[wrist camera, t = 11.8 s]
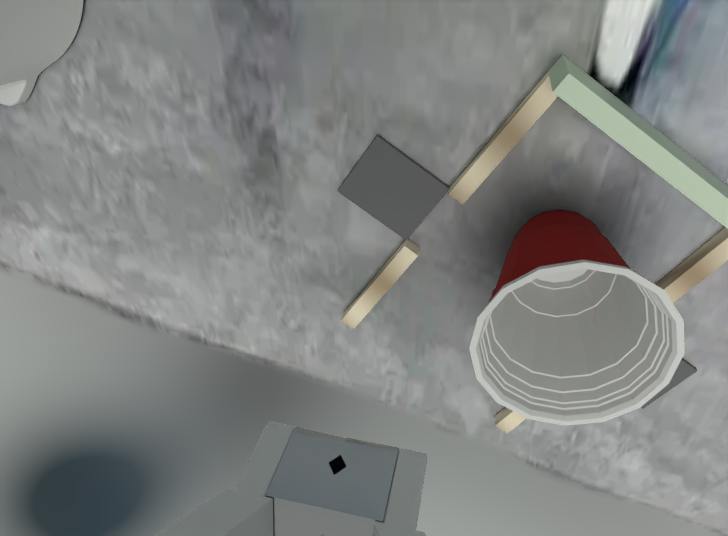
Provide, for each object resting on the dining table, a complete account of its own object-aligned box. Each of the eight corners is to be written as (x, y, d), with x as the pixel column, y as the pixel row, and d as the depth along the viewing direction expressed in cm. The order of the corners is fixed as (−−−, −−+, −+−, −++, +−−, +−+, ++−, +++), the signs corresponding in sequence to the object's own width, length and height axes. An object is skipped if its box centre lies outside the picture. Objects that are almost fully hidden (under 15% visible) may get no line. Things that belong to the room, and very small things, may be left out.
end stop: (749, 229, 39) (778, 268, 34) (548, 71, 36) (552, 92, 32) (766, 216, 38) (797, 254, 34) (562, 54, 36) (568, 73, 32)
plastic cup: (593, 335, 45) (617, 459, 35) (455, 281, 45) (438, 388, 35) (679, 211, 39) (738, 316, 29) (521, 148, 39) (524, 231, 29)
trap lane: (507, 422, 51) (507, 433, 50) (344, 312, 48) (340, 320, 47) (749, 229, 39) (755, 238, 38) (548, 71, 36) (549, 75, 35)
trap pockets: (642, 405, 47) (642, 408, 47) (338, 189, 43) (337, 191, 43) (696, 368, 44) (697, 370, 44) (377, 134, 41) (377, 135, 40)
